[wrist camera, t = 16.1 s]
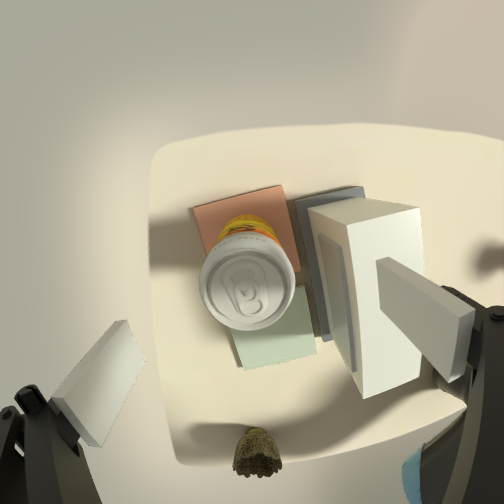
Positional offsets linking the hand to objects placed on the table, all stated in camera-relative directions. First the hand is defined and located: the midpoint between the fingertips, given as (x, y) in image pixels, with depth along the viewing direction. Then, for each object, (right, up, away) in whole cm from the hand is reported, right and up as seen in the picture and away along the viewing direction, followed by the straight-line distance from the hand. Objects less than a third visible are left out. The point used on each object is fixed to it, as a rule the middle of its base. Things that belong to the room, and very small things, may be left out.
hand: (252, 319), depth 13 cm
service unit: (+11, +1, +19) cm, 22 cm away
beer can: (-1, +4, +18) cm, 19 cm away
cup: (+1, -27, +27) cm, 38 cm away
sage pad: (+3, -7, +21) cm, 22 cm away
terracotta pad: (0, +5, +18) cm, 19 cm away
